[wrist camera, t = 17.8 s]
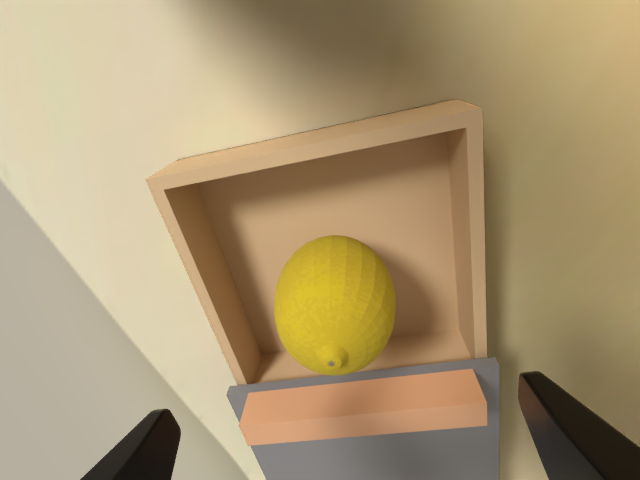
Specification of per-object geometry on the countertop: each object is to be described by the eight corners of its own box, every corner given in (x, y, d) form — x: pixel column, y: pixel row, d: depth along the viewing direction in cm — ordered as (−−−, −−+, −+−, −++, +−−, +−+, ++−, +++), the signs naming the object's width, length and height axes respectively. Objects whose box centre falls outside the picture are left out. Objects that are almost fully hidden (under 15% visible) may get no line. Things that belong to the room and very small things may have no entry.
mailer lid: (229, 386, 20) (214, 428, 18) (495, 356, 18) (517, 399, 16) (292, 522, 27) (287, 566, 24) (495, 512, 25) (511, 559, 22)
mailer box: (178, 159, 18) (145, 179, 15) (455, 99, 16) (482, 107, 13) (256, 357, 24) (244, 400, 21) (467, 331, 22) (487, 375, 19)
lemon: (338, 191, 18) (334, 273, 11) (406, 259, 20) (440, 370, 13) (267, 254, 20) (226, 359, 13) (334, 312, 22) (329, 433, 15)
